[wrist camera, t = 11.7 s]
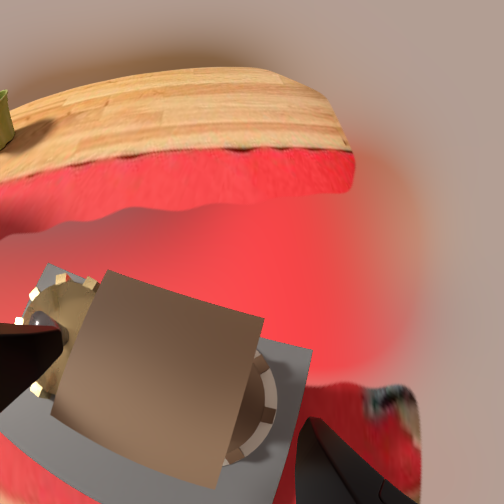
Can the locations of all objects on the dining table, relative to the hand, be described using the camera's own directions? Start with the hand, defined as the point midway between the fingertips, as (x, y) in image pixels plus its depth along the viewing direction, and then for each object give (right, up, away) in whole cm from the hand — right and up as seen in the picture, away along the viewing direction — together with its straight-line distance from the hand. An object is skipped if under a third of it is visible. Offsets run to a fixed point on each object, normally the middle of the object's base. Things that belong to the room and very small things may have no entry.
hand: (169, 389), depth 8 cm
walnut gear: (-1, -5, +8) cm, 10 cm away
